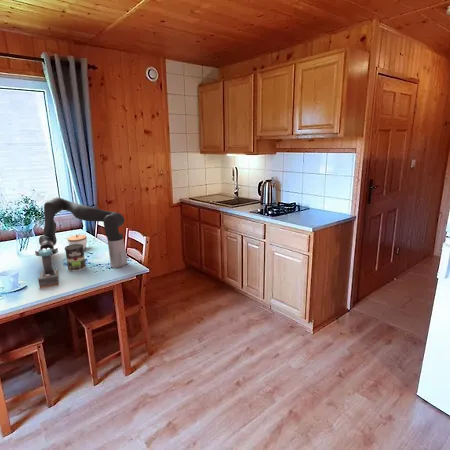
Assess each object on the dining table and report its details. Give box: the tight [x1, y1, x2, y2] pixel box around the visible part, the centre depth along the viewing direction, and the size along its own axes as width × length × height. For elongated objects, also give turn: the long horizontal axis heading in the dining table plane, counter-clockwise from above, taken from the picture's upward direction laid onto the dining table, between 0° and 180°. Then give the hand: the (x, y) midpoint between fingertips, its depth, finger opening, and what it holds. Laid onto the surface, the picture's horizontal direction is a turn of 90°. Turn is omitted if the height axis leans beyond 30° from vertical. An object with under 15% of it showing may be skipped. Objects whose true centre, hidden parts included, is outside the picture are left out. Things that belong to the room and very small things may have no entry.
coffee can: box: [64, 244, 87, 272], centre depth 197 cm, size 10×10×14 cm
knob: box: [38, 249, 55, 276], centre depth 185 cm, size 7×7×14 cm
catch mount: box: [38, 268, 59, 289], centre depth 182 cm, size 20×9×6 cm, turn 27°
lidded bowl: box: [67, 234, 88, 249], centre depth 231 cm, size 13×13×11 cm
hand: (46, 256), depth 191 cm, fingers closed
